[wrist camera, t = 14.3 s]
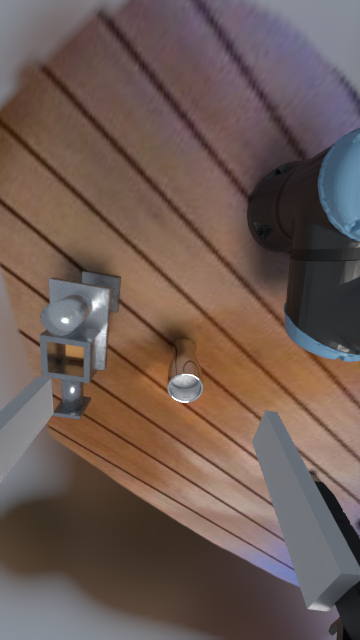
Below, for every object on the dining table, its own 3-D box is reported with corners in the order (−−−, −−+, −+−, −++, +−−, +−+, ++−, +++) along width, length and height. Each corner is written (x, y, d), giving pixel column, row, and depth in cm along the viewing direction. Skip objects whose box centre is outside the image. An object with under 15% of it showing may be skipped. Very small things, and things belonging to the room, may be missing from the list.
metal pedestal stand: (79, 269, 45) (19, 287, 28) (125, 278, 45) (93, 300, 28) (78, 337, 50) (28, 385, 34) (119, 343, 51) (90, 394, 34)
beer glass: (165, 353, 52) (159, 394, 38) (179, 331, 50) (178, 366, 36) (188, 365, 53) (191, 409, 39) (202, 344, 51) (211, 383, 37)
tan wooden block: (91, 314, 48) (65, 336, 37) (108, 317, 49) (87, 340, 37) (91, 330, 50) (65, 355, 39) (108, 332, 50) (87, 359, 39)
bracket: (57, 323, 37) (39, 334, 33) (101, 330, 38) (90, 342, 33) (59, 395, 43) (44, 414, 38) (97, 401, 44) (88, 420, 39)
